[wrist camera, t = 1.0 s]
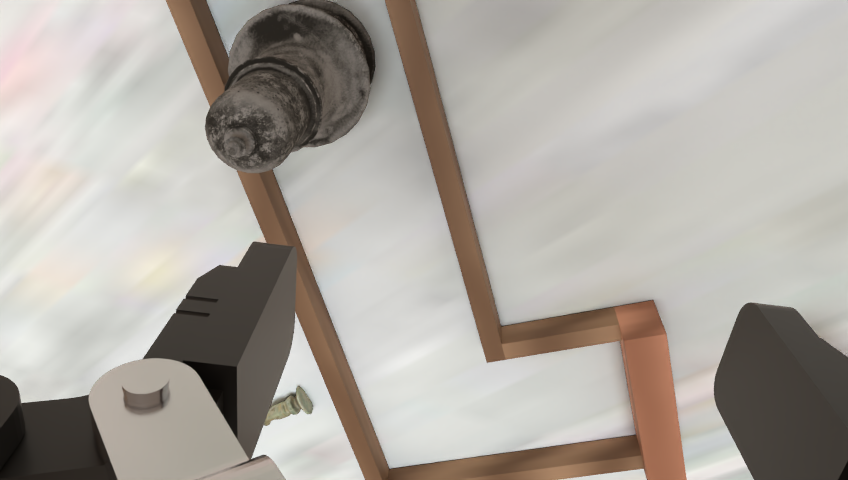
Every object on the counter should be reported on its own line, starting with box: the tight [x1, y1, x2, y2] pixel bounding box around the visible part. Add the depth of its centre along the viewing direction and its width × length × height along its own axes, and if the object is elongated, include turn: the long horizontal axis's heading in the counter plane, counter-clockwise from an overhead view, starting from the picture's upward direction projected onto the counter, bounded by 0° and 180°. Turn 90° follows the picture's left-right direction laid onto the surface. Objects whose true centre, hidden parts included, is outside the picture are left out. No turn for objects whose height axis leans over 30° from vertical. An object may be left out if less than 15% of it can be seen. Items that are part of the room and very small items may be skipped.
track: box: [166, 0, 686, 480], centre depth 34 cm, size 18×32×3 cm, turn 15°
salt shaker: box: [205, 0, 375, 173], centre depth 26 cm, size 6×6×12 cm
